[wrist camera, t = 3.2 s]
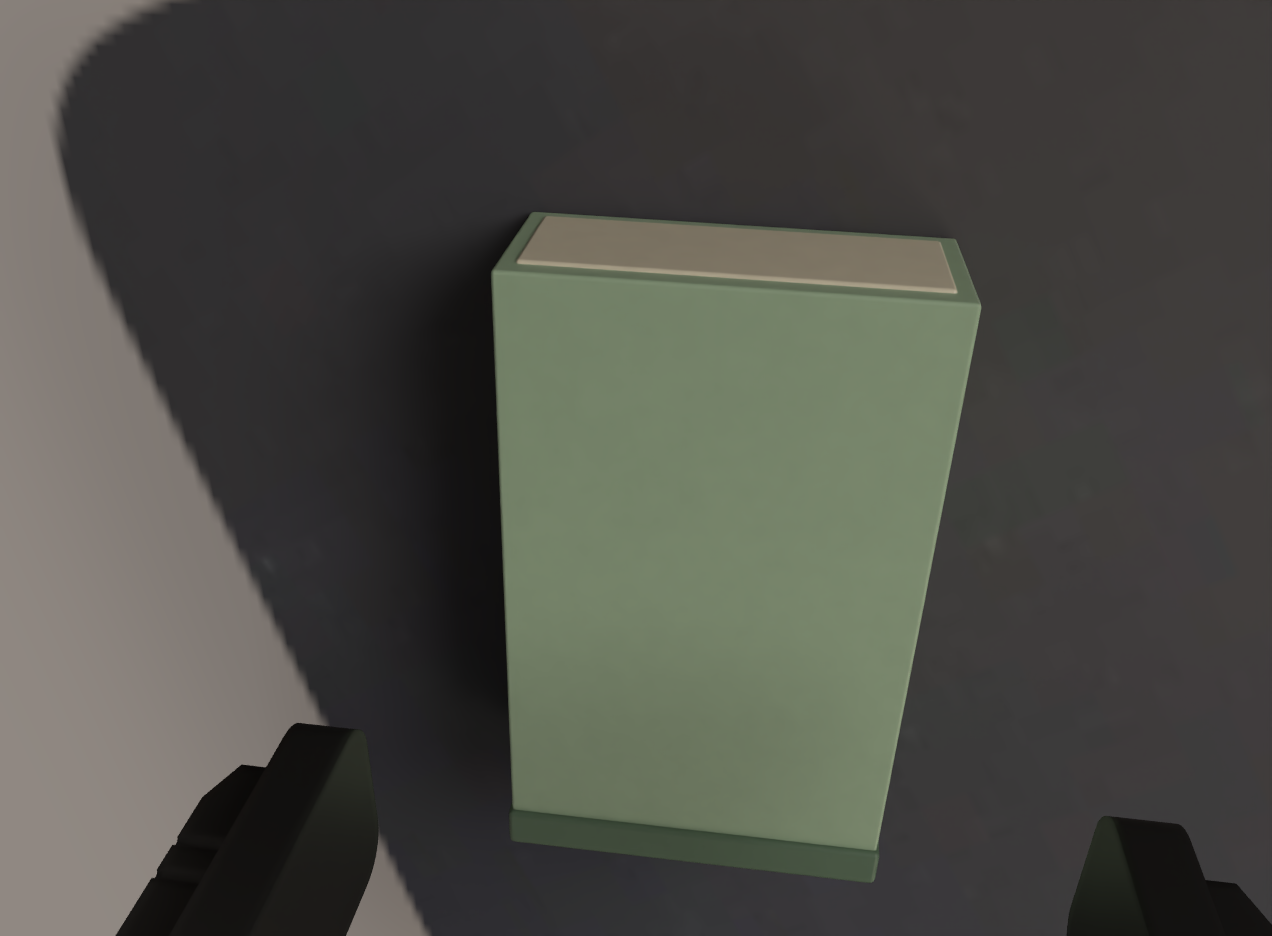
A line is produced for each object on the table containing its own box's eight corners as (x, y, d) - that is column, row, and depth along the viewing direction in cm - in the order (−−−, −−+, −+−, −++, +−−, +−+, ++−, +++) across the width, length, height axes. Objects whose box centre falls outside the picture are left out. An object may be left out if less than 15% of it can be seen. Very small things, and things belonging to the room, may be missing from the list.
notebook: (865, 770, 21) (874, 885, 18) (539, 735, 21) (509, 843, 19) (960, 234, 15) (989, 303, 13) (527, 206, 16) (483, 268, 14)
